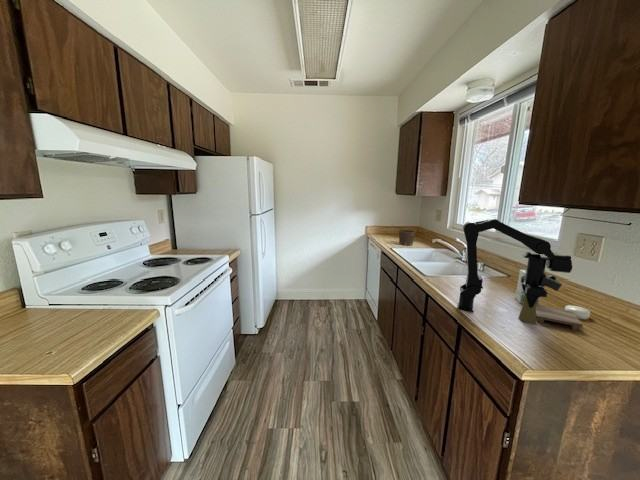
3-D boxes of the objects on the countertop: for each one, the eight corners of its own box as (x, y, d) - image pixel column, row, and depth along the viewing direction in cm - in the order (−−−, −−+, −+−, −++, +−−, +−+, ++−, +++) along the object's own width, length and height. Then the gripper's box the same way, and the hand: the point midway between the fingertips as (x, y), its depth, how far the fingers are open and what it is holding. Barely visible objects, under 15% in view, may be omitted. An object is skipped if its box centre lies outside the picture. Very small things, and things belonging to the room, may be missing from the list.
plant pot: (412, 245, 269) (413, 230, 267) (416, 248, 254) (417, 232, 251) (396, 245, 271) (397, 229, 269) (398, 248, 256) (399, 231, 253)
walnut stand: (581, 331, 103) (582, 324, 102) (536, 322, 110) (537, 315, 109) (570, 317, 115) (572, 311, 114) (530, 310, 122) (531, 304, 121)
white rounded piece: (591, 321, 112) (593, 314, 112) (567, 316, 116) (568, 310, 116) (585, 314, 119) (586, 307, 119) (562, 310, 123) (563, 304, 123)
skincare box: (518, 303, 130) (523, 272, 127) (514, 298, 136) (518, 269, 133) (539, 305, 127) (545, 274, 124) (534, 300, 133) (539, 271, 130)
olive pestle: (530, 325, 108) (535, 300, 106) (514, 318, 113) (518, 294, 111) (539, 322, 110) (543, 297, 108) (523, 316, 115) (527, 292, 113)
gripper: (568, 278, 96) (560, 318, 98) (555, 267, 111) (549, 301, 114) (529, 273, 101) (523, 311, 104) (522, 263, 117) (517, 296, 120)
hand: (529, 305), depth 110 cm, fingers closed on olive pestle, 5 cm apart
